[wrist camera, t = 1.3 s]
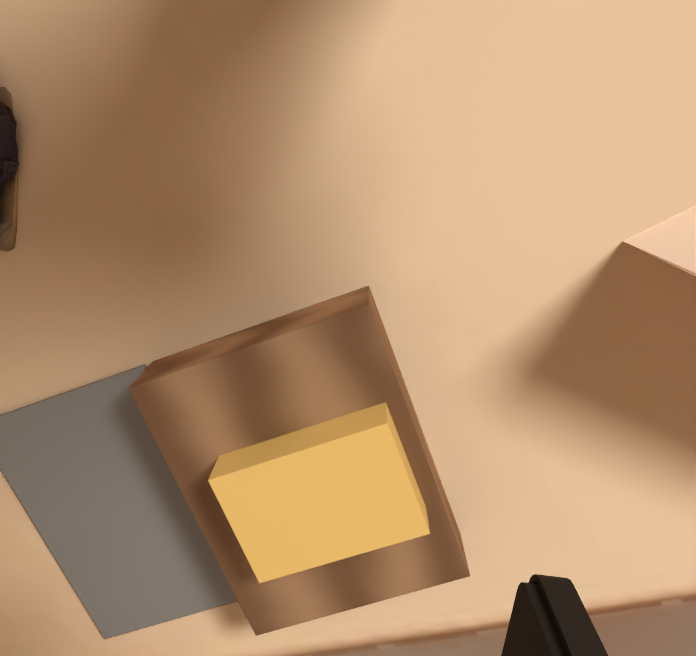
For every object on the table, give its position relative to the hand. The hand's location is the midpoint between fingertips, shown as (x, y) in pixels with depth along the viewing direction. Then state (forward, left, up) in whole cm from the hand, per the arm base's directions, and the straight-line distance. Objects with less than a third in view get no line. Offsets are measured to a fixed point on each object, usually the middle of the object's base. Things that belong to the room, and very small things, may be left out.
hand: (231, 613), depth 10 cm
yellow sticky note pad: (+4, +11, -22) cm, 25 cm away
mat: (+19, +11, -26) cm, 34 cm away
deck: (+5, +11, -26) cm, 29 cm away
